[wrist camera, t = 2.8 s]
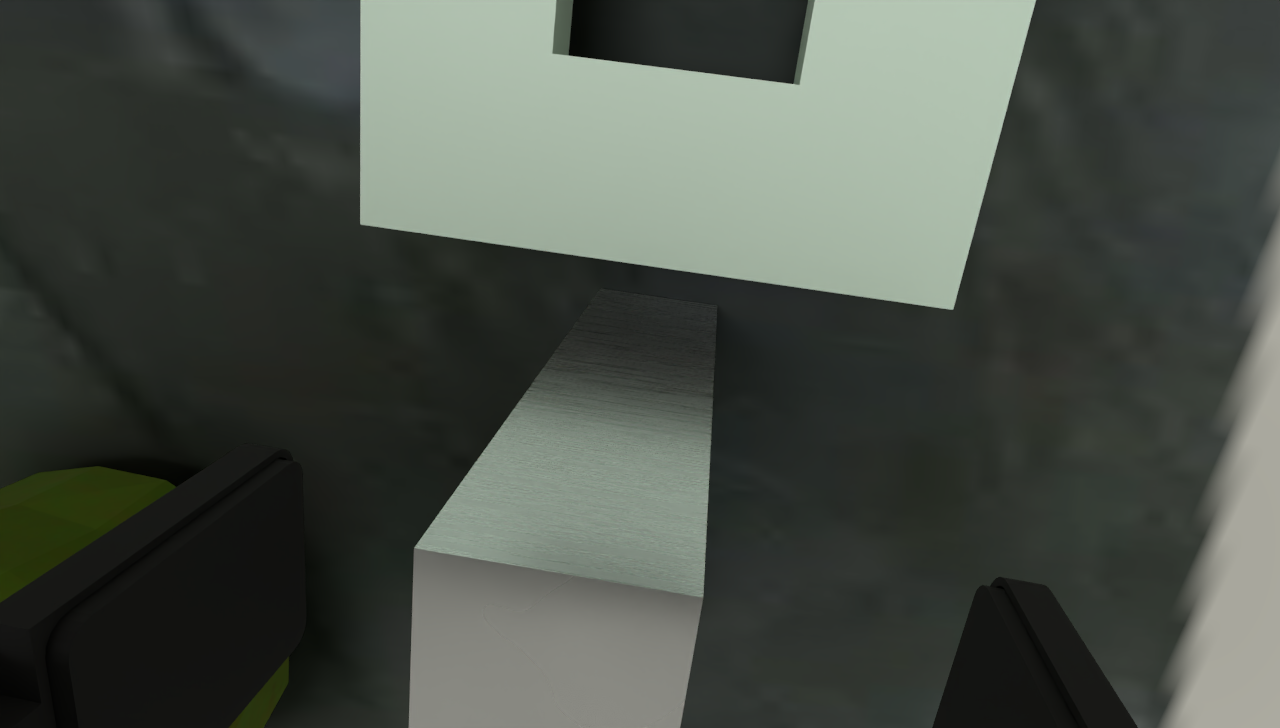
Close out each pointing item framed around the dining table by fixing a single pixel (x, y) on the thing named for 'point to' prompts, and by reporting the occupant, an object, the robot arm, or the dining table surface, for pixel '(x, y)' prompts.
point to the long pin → (577, 537)
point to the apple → (87, 537)
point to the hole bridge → (695, 142)
